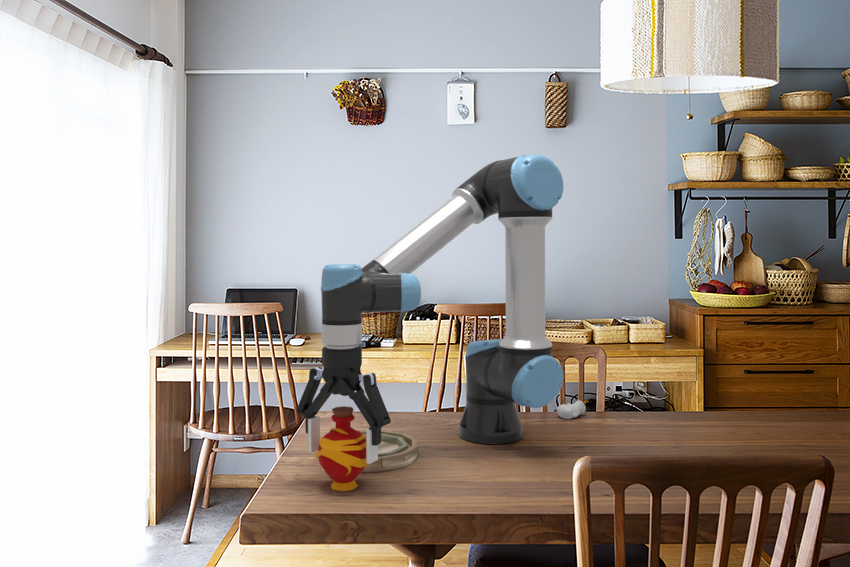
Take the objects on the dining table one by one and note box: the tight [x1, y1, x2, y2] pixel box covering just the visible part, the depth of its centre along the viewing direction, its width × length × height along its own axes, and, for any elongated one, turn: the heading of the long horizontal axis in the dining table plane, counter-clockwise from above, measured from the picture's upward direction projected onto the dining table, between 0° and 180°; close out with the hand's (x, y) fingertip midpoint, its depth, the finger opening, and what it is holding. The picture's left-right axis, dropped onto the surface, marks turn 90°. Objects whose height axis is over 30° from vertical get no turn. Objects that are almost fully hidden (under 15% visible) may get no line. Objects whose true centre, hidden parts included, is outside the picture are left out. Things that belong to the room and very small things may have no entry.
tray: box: [359, 429, 419, 473], centre depth 144 cm, size 20×20×3 cm
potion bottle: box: [315, 406, 369, 492], centre depth 126 cm, size 10×10×15 cm
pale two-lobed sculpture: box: [556, 399, 587, 420], centre depth 174 cm, size 4×8×5 cm
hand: (342, 456), depth 126 cm, fingers open, 13 cm apart
